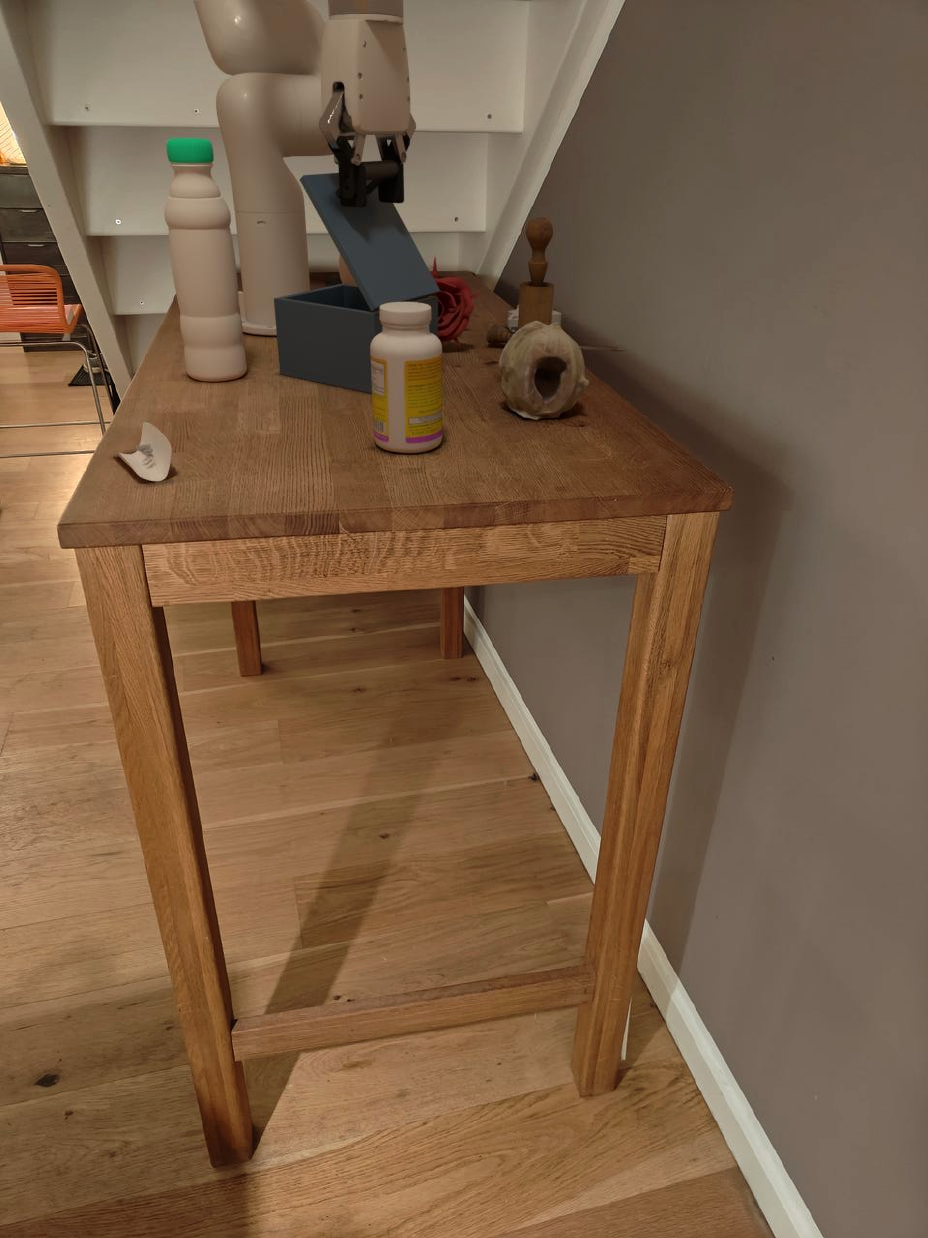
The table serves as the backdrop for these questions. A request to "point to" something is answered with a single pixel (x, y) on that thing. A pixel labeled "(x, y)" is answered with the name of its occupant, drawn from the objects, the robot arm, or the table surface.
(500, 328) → the machete
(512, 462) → the table surface
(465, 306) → the flower
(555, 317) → the zipper pull
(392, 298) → the lid
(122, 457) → the white curved plate
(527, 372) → the cream hollow lumpy ball
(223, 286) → the water bottle
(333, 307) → the chest
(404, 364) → the supplement bottle
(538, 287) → the mortar and pestle
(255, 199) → the robot arm
